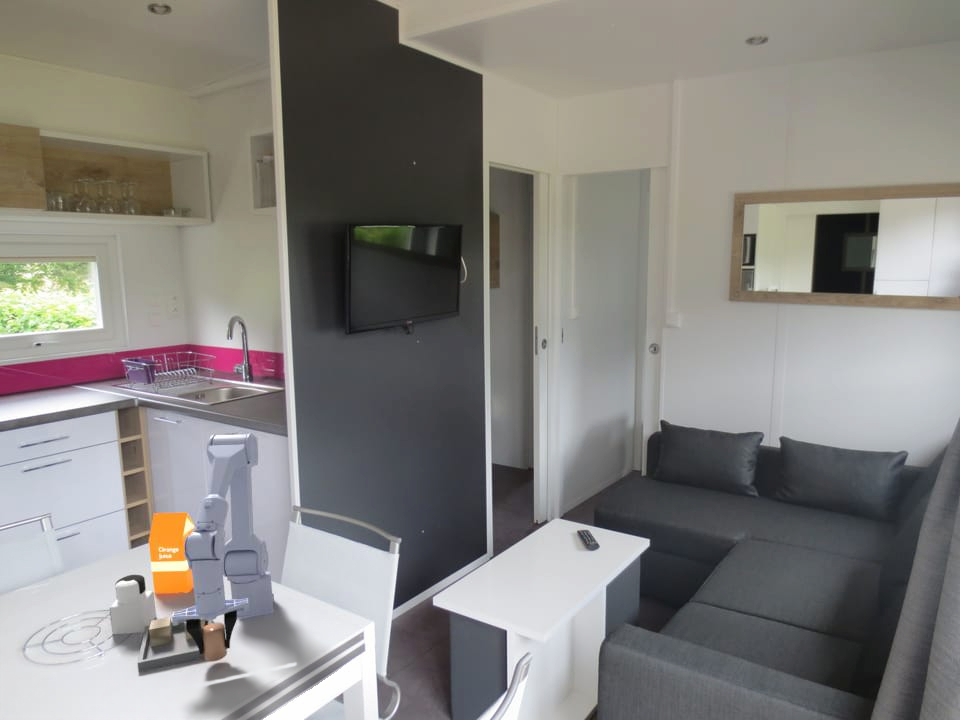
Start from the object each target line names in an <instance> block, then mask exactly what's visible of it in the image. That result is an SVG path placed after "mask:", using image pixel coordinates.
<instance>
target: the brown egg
mask: <svg viewBox="0 0 960 720" xmlns="http://www.w3.org/2000/svg"><path fill="white" fill-rule="evenodd" d="M202 640H203V649H204V658H203V659H204V660H205V661H207V662H217V661H220V660H222V659H224V658H225V657H226V656H227V654H228V649H226V632H225V624H224V623H223V622H213V623H211V624H209V625H206V626H205V627H204V628H203V629H202Z"/></svg>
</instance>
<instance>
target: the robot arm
mask: <svg viewBox="0 0 960 720" xmlns="http://www.w3.org/2000/svg"><path fill="white" fill-rule="evenodd" d="M206 443H207V445H206V455H207V457H208V461H209V465H210V466H211V470H210V471H211V472H210V479H209V485H208V490H207V496H206V497H204V498H203V499H202V500H201V501H200V504H199V506H198V510H197V515H196V518H195V522H194V529H193V532H192V533H191V534H189V535H188V536H187V537H186V540H185V545H184V555H185V558H186V560H187V562H188V568H189V569H190V570H192V578H193V588H192V589H193V594H194V605H192V606H191V607H187V608H184V609H181V610H178V611H174V612H172V615H171V621H172V622H173V626H175V625H179V623H182V622H186V630H187V632H188V633H189V634H190V635H191V636H192V638H193V639H194V641H195V642H196V644H197V646H198V649H199V652H200V654H204V649H203V640H202V632H201V620H200V619H205V620H206V621H208V620H213V621H214V620H216V619H217V617H220V616H223V622H224V623H223V624H224V627H225V637H226V649H227V650H228V649H230V648H231V638H232V635H233V631H234V628H235V625H236V623H237V620H242V619H243V620H244V619H248V618H252V617H257V616H263V615H268V614H272V613H274V612H275V610H274V602H275V595H274V593H273V587H272V577H271V576H272V575H271V571H268V568H269V552H268V549H267V543H266V541H265V539H263V538H261V537H259V536H257V535H256V534H255V533H254V515H253V513H254V512H253V511H254V510H253V509H254V508H253V489H252V487H253V486H252V483H253V482H252V468H253V467H255V466H257V465H258V462H259V446H258V439H257V436H255V434H254V433H251V432H249V433H246V434H245V433H242V434H240V433H239V434H212V435H210V437H209V438H208V441H207V442H206ZM229 489H230V491H229ZM228 491H229V494H230V497H229V498H230V504H229V503H228V501H227V500H226V497H227V494H228ZM229 505H230V506H229ZM229 507H230V516H231V519H230V520H231V538H230V539H229V540H228V541H226V540H225V539H226V531H225V525H226V520H227V515H228V511H229ZM224 577H226V578H227V582H230V592H231V593H230V594H231V599H226V596H225V594H226V593H225V585H224Z"/></svg>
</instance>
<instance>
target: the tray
mask: <svg viewBox="0 0 960 720" xmlns="http://www.w3.org/2000/svg"><path fill="white" fill-rule="evenodd" d="M205 623H206V625H209V624H211V623H214V619H213V620H208V621H206V620H205ZM171 624H172V633H173V634H172V640H171V643H166V644H162V645H157V646H152V647H151V641H150V632H149V628H150V625H149V626H146V627H145V632H143V637H142V641H141V646H140V649H139V655H138V660H137V670H138V671H137V672H143V671H148V670H153V669H158V668H162V667H163V668H164V667H166V666H171V665H177V664H181V663H186V662H191V661H195V660H199V659H200V660H201V659H204V654H200V652H199V649H198V646H197V644H196V642H195V641H194V639H193V638H191V639H186V635H185V626H184V622H182V623H179V625H175V626H173V622H172V620H171Z"/></svg>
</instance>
